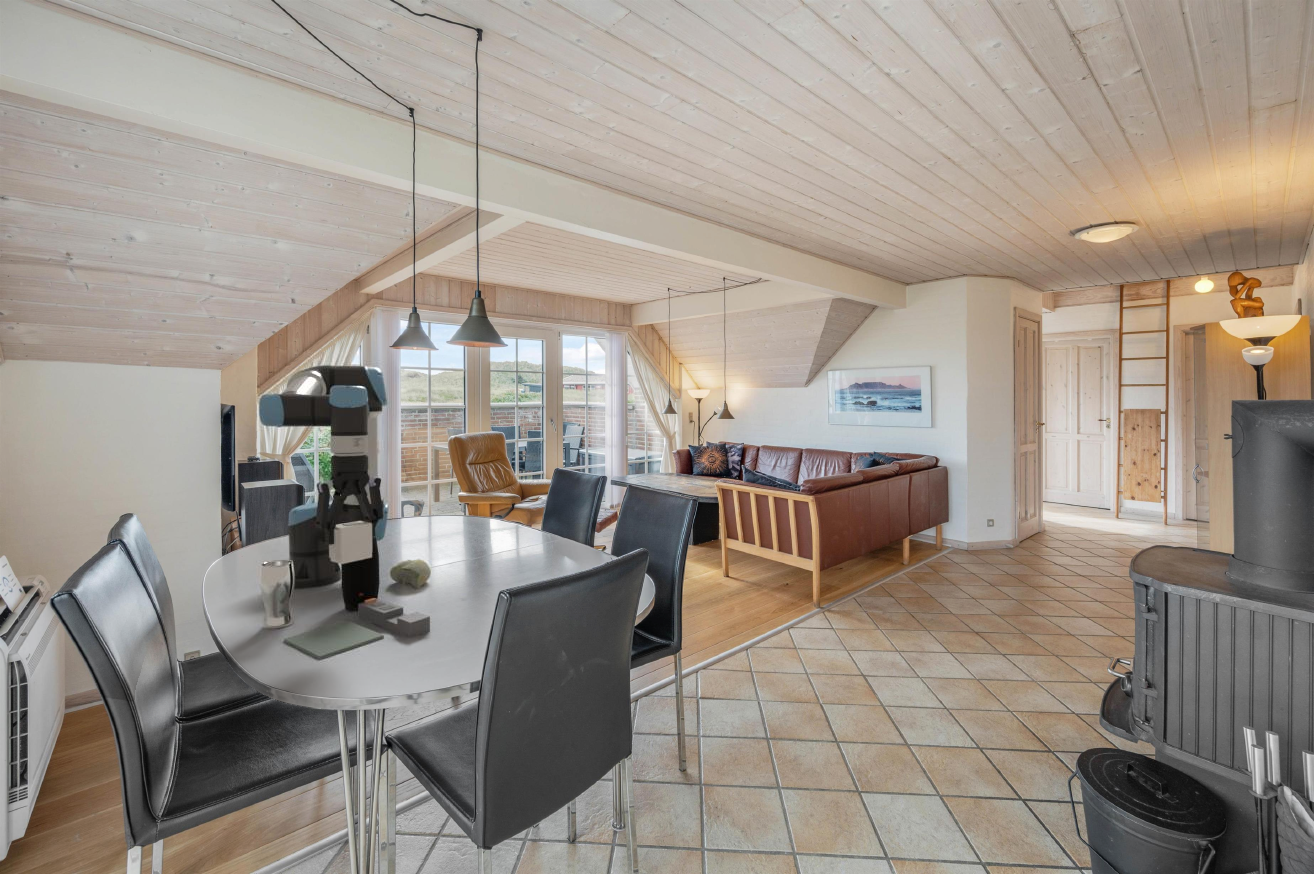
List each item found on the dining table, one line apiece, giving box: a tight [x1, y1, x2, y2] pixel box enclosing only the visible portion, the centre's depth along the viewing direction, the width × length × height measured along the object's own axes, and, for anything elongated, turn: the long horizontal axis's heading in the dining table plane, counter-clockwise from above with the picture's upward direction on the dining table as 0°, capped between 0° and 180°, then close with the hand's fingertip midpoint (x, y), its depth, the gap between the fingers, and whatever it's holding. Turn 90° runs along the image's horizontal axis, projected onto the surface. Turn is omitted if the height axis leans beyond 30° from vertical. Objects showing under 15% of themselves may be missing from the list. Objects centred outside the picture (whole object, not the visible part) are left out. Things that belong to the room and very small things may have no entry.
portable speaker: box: [340, 534, 380, 612], centre depth 152 cm, size 8×9×19 cm
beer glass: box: [259, 558, 295, 630], centre depth 139 cm, size 7×7×15 cm
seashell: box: [389, 559, 432, 589], centre depth 173 cm, size 13×8×10 cm
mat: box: [283, 620, 385, 660], centre depth 131 cm, size 16×14×1 cm
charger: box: [331, 521, 372, 565], centre depth 132 cm, size 4×7×8 cm, turn 147°
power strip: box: [357, 598, 431, 638], centre depth 140 cm, size 22×5×4 cm, turn 56°
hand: (351, 554), depth 132 cm, fingers closed on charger, 7 cm apart
